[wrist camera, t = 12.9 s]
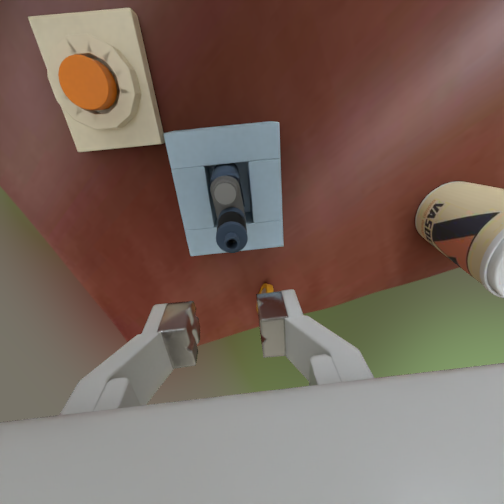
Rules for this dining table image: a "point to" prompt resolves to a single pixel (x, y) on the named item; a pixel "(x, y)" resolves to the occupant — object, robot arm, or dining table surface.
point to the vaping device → (229, 208)
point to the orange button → (87, 82)
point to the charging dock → (251, 176)
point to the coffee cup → (467, 229)
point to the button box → (121, 67)
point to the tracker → (265, 289)
